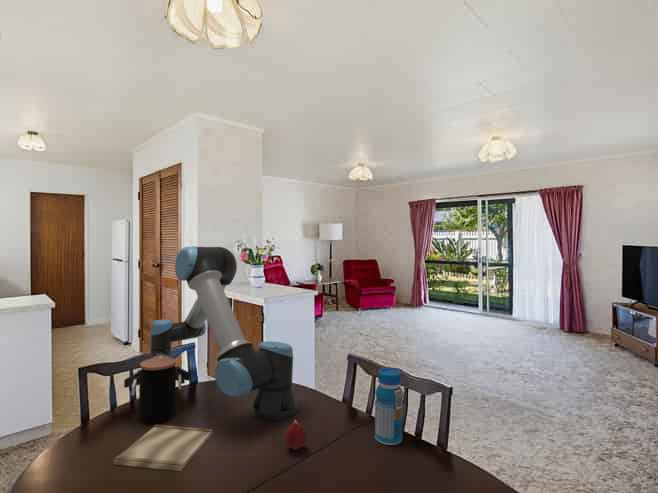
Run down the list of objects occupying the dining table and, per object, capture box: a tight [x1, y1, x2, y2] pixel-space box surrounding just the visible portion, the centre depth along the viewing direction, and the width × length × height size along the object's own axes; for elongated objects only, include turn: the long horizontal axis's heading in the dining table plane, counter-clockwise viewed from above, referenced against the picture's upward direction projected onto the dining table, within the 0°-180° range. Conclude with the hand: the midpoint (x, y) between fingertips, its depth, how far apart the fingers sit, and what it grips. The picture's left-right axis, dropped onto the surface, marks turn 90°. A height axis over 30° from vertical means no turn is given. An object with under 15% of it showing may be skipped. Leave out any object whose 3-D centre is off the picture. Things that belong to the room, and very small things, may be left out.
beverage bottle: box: [374, 367, 405, 446], centre depth 107 cm, size 8×8×20 cm
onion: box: [284, 419, 307, 451], centre depth 100 cm, size 6×6×8 cm
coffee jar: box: [138, 357, 177, 425], centre depth 117 cm, size 11×11×18 cm
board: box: [113, 424, 214, 472], centre depth 99 cm, size 18×18×2 cm
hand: (157, 388), depth 116 cm, fingers open, 13 cm apart
